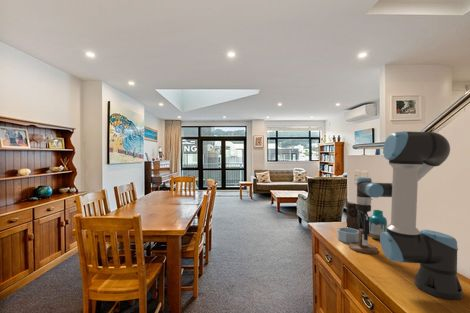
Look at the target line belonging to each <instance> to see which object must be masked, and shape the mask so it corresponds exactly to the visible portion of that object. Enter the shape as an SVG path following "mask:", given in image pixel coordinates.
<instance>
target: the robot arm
mask: <svg viewBox="0 0 470 313" xmlns="http://www.w3.org/2000/svg"><path fill="white" fill-rule="evenodd" d="M382 148H383V150H382V153H383V157H384V158H385V159H386V160H387V161H388V164H389V166H391V168H392V182H372V181H373V180H372V178H371V177H365V176H364V177H363V176H362V177H360V176H359V177H358V178H357V179H356V204H357V210H359V211H360V212H358V227H359V229H363V233H362V234H363V235H362V245H365V246H368V244H369V234H370V233H369V218H370V215H369V214H368V213H369V212H371V211H372V205H371V204H372V201H373V198H374V199H375V198H377V199H378V198H391V209H390V210H391V211H390V212H391V213H390V223H389V224H387V231H386V232H382V233H381V235H380V240H379V241H380V247H381V249H382V252H383V254H384V256H385V257H386V258H387V259H388V260H389V261H391V262H396V263H402V264H403V263H405V264H406V263H408V264H419V268H418V270H417V272H416V274H415V276H414V285H415V286H416V287H417V288H418V289H420V290H421V291H423V292H424V293H427V294H429V295H432V296H434V297H437V298H440V299H441V298H442V299H445V300H453V301H454V300H462V299H463V297H464V296H463V292H464V291H463V288H462V285H461V283H460V280H459V277H458V251H459V247H458V241H457V239H456V238H455V237H453V236H452V235H449V234H446V233H443V232H440V231H435V230H431V229H421V230H419V229H418V227H417V210H418V209H417V208H418V206H417V204H418V187H419V186H418V184H419V183H418V182H419V181H420V180H421V179H422V178H424V177H425V176H426V175H427V174H428V173H429V172H430V171H432V169H433V168H436V167H439V166H441V165H442V164H443V163H444V162H445V161H446V160H447V159H448V158H449V156H450V154H451V153H450V152H451V144H450V142H449V141H448V139H447V138H446V137H445V136H444V135H442V134H440V133H439V132H434V131H396V132H395V131H394V132H392V133H390V134H389V135H388V136H387V137H386V139H385V140H384V144H383V147H382Z"/></svg>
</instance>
